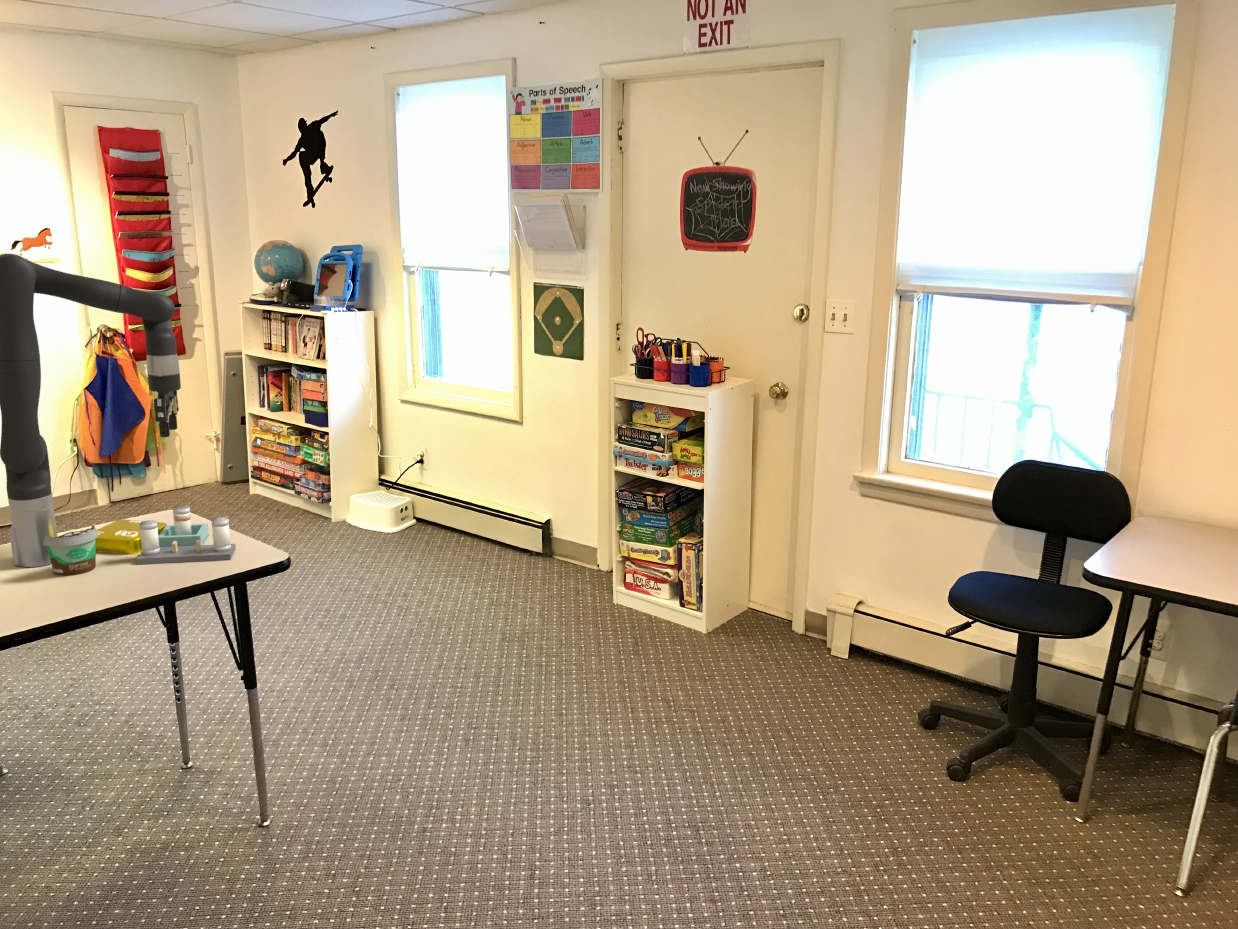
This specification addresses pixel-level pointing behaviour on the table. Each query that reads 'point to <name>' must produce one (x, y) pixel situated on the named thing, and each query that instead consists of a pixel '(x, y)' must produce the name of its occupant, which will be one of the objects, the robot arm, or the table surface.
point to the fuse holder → (185, 553)
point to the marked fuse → (182, 520)
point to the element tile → (122, 537)
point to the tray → (183, 536)
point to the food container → (73, 552)
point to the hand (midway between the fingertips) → (169, 433)
